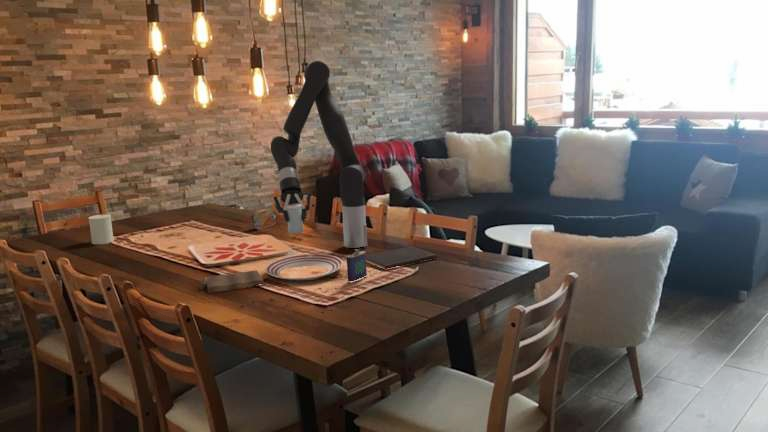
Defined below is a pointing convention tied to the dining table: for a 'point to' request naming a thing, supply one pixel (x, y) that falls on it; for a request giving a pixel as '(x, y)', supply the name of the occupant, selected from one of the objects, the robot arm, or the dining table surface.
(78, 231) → the dining table surface
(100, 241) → the can
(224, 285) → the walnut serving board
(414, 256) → the hardcover book
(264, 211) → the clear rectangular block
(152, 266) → the dining table surface
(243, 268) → the dining table surface
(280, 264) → the dinner plate
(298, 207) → the stoneware cup
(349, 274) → the flask
